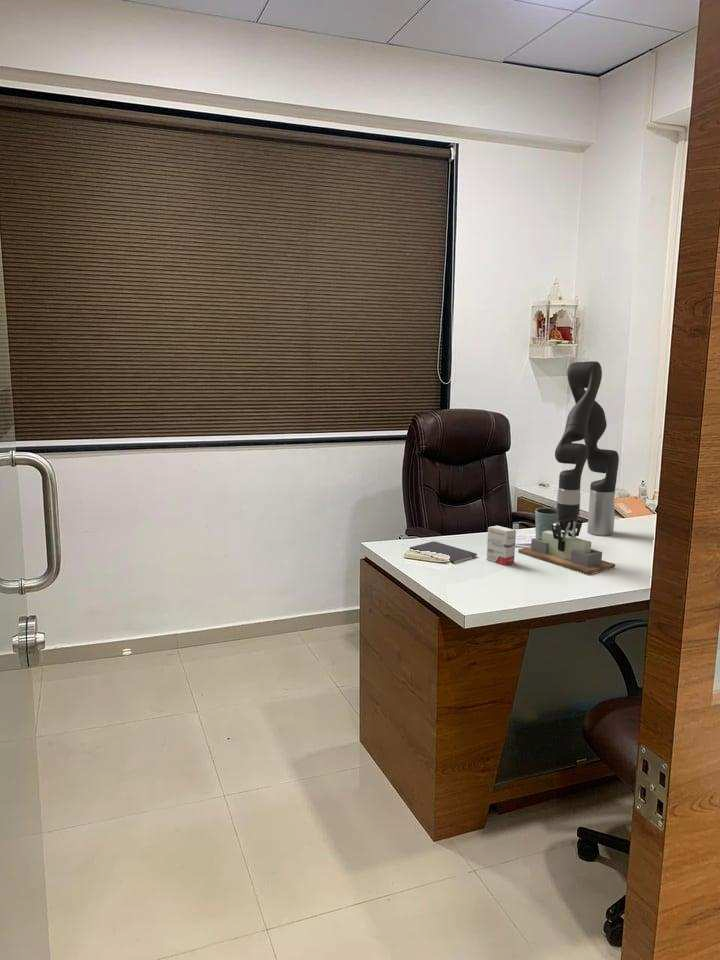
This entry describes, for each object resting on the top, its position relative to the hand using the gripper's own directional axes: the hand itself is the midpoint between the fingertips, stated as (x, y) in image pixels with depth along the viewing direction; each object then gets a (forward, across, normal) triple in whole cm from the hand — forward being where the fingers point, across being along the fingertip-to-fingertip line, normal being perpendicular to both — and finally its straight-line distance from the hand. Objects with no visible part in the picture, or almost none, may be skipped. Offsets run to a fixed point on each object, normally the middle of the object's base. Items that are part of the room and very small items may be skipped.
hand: (565, 549), depth 241 cm
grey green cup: (+4, -13, -19) cm, 23 cm away
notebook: (+4, +30, -29) cm, 42 cm away
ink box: (+4, +20, -11) cm, 23 cm away
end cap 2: (+2, 0, +9) cm, 9 cm away
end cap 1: (+2, 0, -9) cm, 9 cm away
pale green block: (+2, 0, 0) cm, 2 cm away
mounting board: (+4, 0, 0) cm, 4 cm away
